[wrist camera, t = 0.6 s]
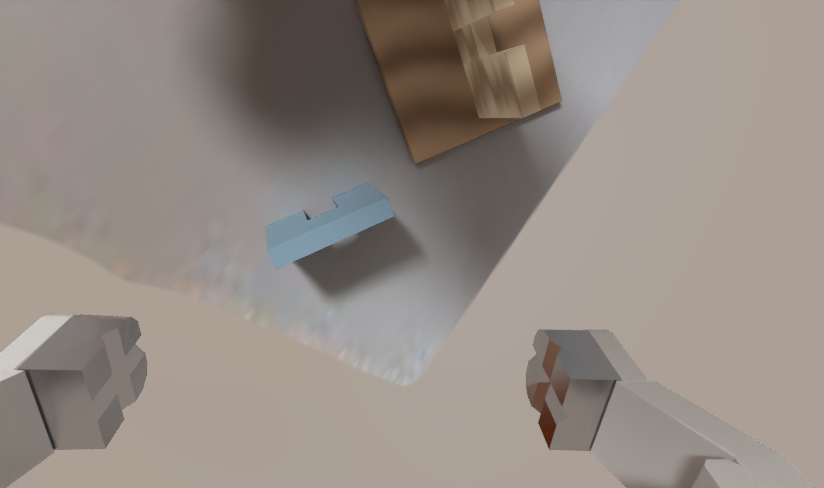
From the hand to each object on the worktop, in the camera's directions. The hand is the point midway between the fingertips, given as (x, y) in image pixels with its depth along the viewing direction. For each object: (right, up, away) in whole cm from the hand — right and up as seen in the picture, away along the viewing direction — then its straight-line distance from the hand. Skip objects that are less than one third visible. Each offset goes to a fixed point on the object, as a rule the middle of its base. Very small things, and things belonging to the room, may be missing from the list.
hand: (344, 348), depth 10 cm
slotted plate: (-9, +6, +42) cm, 43 cm away
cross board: (+7, +25, +42) cm, 49 cm away
